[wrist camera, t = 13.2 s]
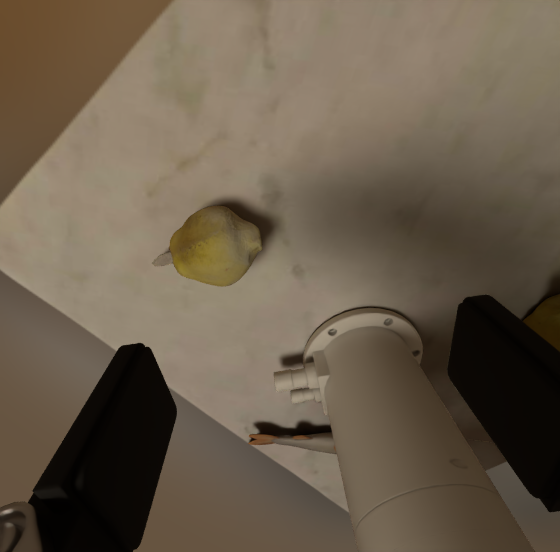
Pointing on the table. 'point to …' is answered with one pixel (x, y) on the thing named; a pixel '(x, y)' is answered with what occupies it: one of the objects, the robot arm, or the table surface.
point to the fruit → (213, 247)
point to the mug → (547, 321)
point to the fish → (299, 441)
